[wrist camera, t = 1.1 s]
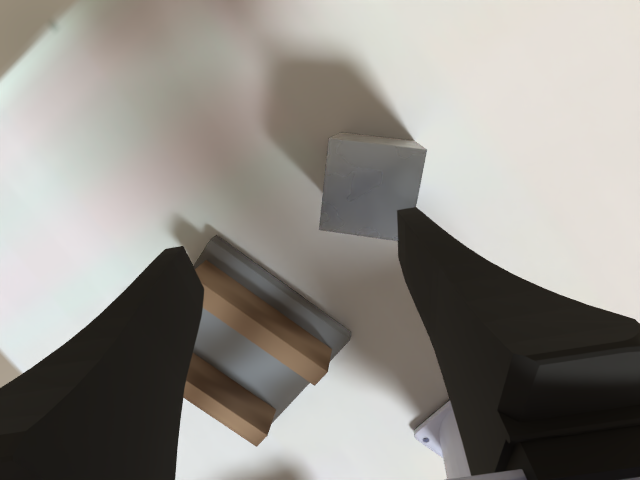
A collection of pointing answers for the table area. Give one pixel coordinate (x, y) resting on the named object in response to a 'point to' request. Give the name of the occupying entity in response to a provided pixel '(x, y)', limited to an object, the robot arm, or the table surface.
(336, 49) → the table surface
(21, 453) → the robot arm
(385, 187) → the steel block
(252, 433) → the slot seat
